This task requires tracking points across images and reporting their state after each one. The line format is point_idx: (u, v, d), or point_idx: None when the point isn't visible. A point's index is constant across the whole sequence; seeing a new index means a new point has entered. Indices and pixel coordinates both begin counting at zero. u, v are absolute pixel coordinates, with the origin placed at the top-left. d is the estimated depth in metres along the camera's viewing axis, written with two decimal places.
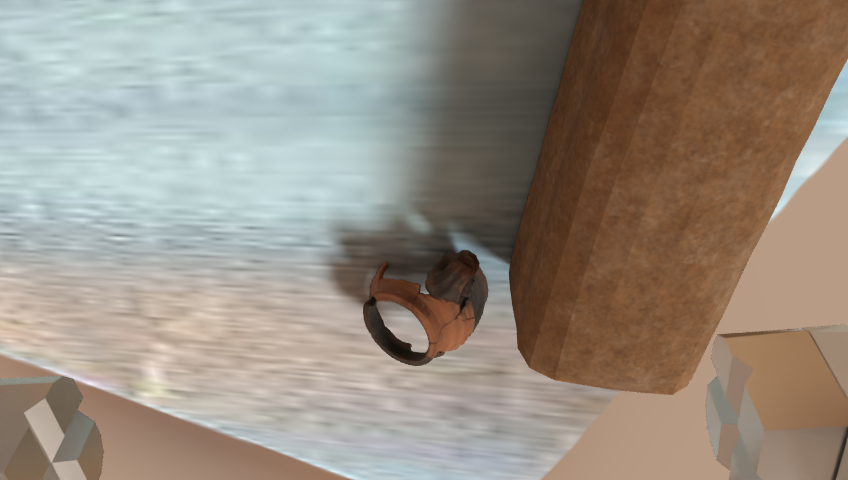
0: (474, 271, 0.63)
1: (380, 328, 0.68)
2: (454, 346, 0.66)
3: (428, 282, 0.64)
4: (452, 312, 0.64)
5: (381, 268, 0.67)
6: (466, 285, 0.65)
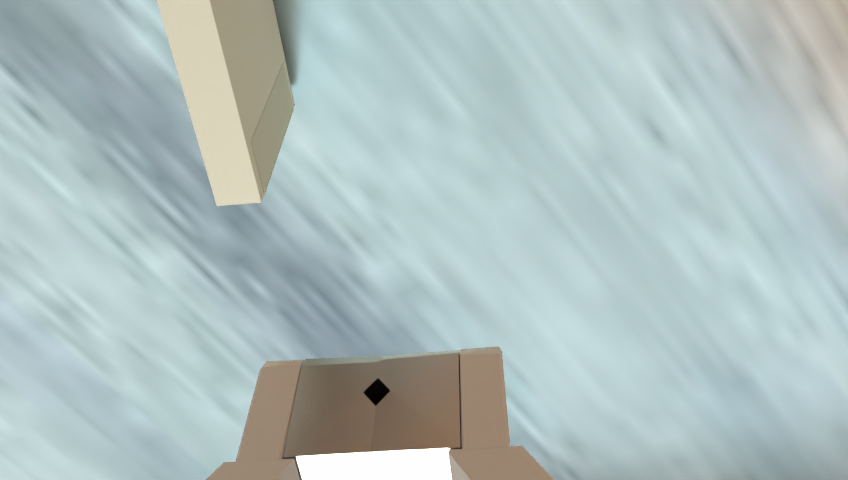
0: None
1: None
2: None
3: None
4: None
5: None
6: None
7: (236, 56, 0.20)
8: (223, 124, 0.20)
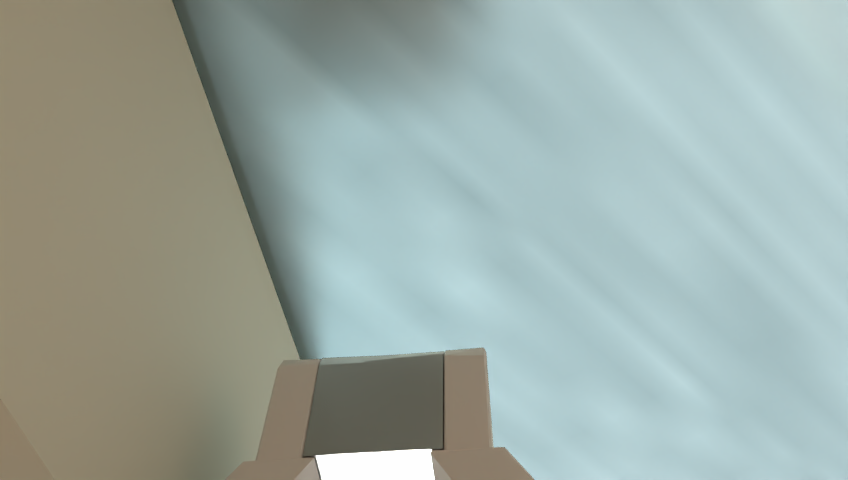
0: None
1: None
2: None
3: None
4: None
5: None
6: None
7: None
8: None
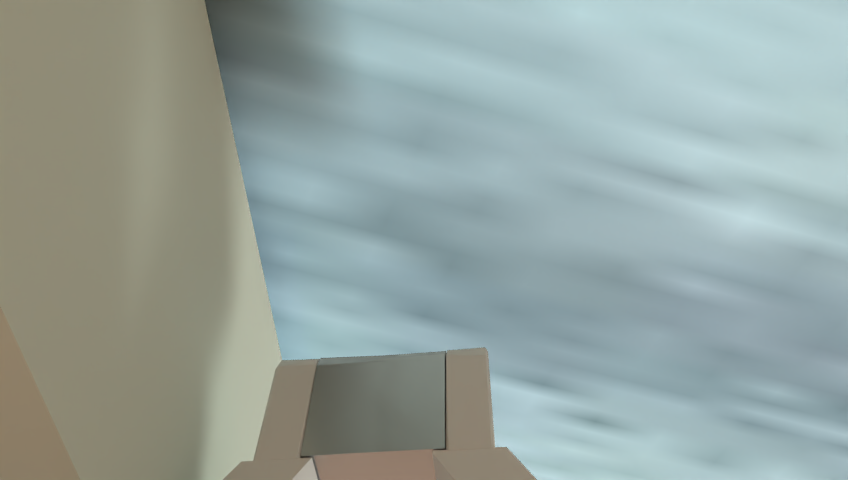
0: None
1: None
2: None
3: None
4: None
5: None
6: None
7: None
8: None
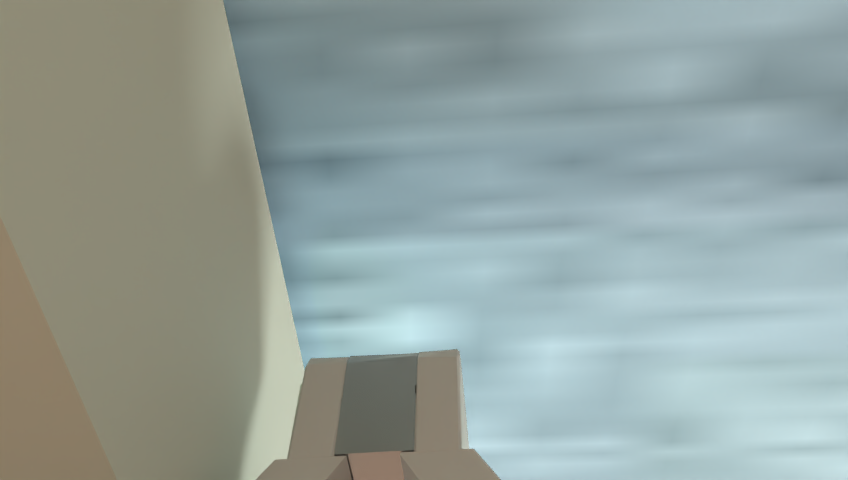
0: None
1: None
2: None
3: None
4: None
5: None
6: None
7: None
8: None
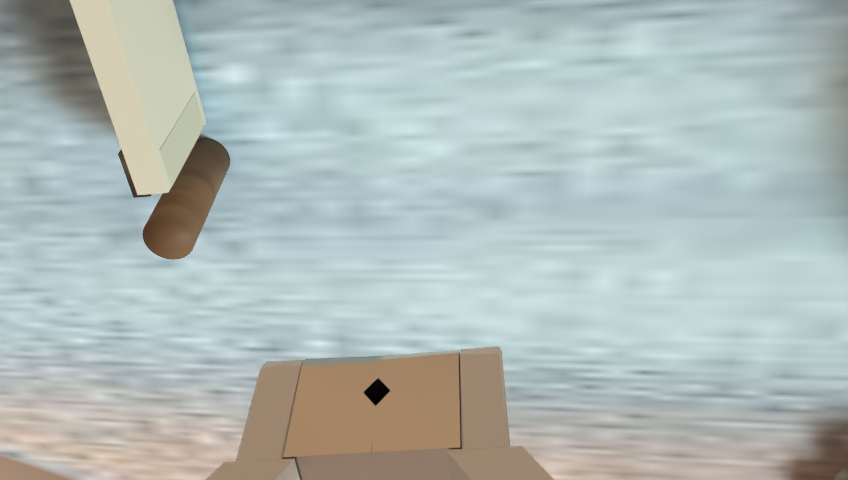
0: None
1: None
2: None
3: None
4: None
5: None
6: None
7: (147, 92, 0.30)
8: (138, 139, 0.30)
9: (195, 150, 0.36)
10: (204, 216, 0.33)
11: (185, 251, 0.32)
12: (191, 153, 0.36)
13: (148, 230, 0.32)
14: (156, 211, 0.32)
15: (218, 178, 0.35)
